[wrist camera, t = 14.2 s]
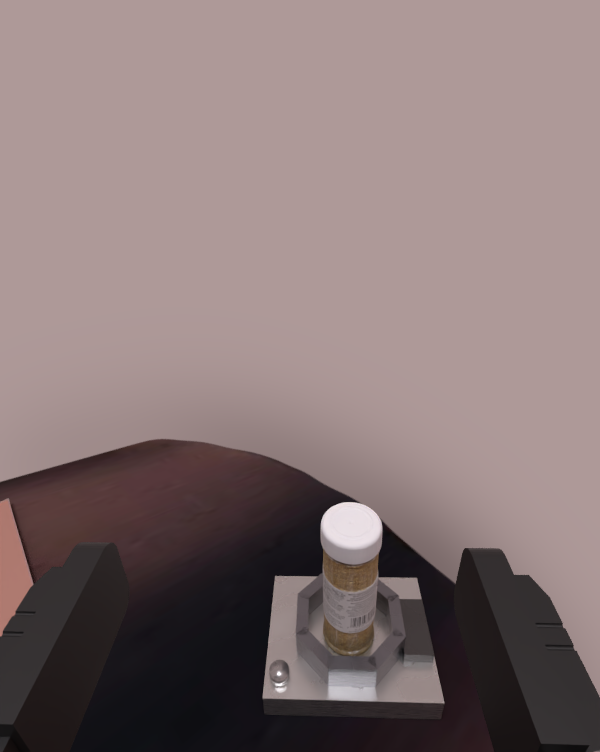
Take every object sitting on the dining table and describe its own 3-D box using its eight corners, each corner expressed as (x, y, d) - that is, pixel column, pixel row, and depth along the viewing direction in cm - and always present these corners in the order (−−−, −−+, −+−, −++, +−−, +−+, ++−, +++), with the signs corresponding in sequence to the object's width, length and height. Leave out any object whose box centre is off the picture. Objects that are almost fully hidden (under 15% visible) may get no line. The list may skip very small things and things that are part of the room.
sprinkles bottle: (363, 603, 41) (369, 494, 35) (382, 652, 37) (393, 539, 31) (316, 615, 40) (313, 505, 34) (330, 665, 37) (330, 552, 30)
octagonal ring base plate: (264, 714, 36) (260, 681, 33) (276, 591, 45) (273, 559, 43) (440, 719, 35) (448, 685, 33) (414, 593, 45) (419, 561, 42)
